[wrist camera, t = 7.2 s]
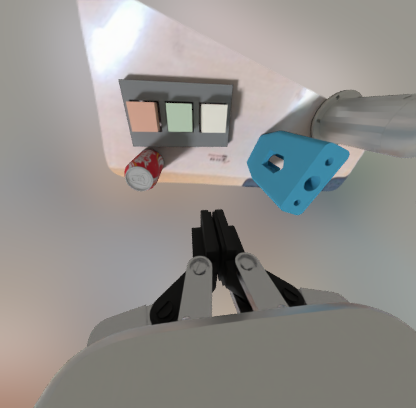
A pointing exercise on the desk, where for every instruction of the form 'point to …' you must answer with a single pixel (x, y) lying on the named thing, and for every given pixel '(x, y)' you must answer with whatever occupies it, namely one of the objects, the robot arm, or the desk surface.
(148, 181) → the beverage can
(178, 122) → the sage button
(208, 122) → the cream button
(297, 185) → the block
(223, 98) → the button panel
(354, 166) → the desk surface
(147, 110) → the terracotta button
